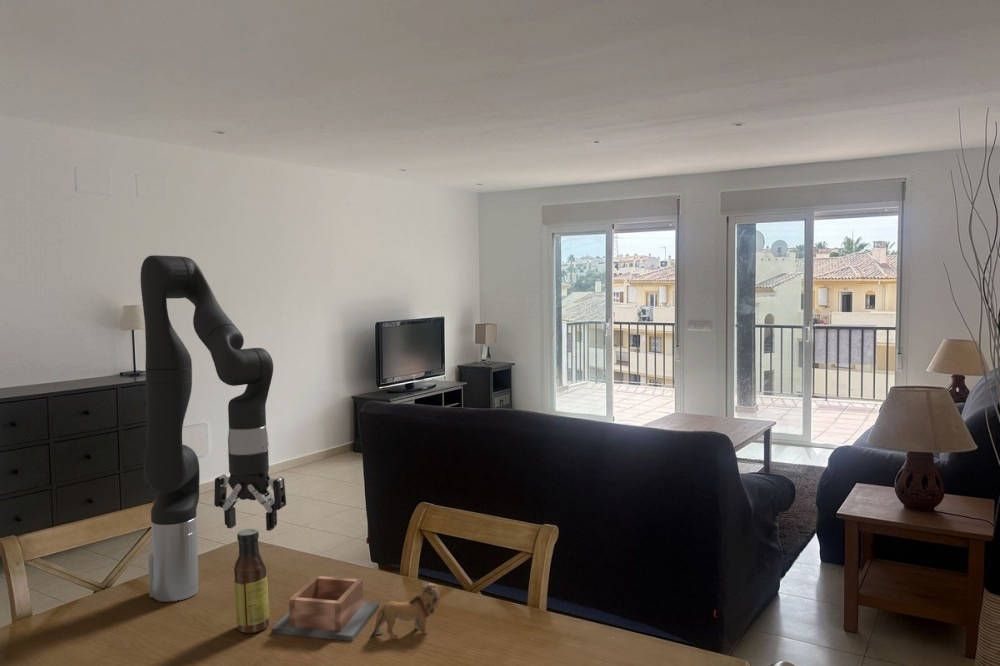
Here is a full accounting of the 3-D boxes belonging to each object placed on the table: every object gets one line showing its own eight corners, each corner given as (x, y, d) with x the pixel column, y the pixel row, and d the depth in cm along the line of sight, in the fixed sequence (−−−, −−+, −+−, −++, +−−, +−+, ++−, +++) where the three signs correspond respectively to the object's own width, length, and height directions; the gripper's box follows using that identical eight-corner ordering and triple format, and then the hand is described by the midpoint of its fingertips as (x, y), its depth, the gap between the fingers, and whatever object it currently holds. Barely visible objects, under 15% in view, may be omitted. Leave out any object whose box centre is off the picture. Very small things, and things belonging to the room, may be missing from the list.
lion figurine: (435, 619, 149) (435, 577, 149) (444, 630, 145) (444, 587, 144) (366, 635, 143) (365, 591, 142) (373, 647, 138) (373, 601, 137)
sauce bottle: (274, 621, 149) (272, 526, 147) (261, 635, 142) (259, 537, 141) (243, 619, 149) (241, 525, 148) (229, 634, 143) (227, 536, 142)
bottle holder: (271, 633, 143) (271, 601, 143) (305, 600, 158) (304, 571, 158) (352, 641, 140) (352, 608, 140) (379, 607, 155) (378, 577, 155)
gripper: (204, 451, 141) (208, 533, 142) (272, 454, 138) (275, 536, 140) (225, 443, 148) (228, 520, 149) (290, 445, 146) (292, 523, 147)
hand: (251, 528), depth 144 cm, fingers open, 8 cm apart
